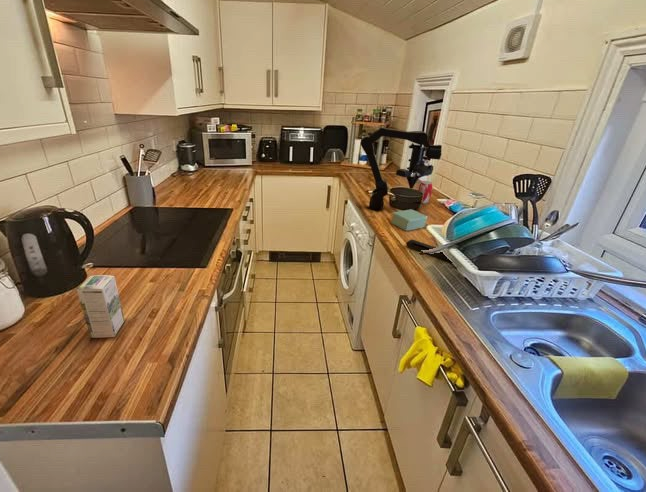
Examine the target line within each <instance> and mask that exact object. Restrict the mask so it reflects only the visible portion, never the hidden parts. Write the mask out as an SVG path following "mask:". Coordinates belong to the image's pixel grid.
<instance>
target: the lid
mask: <svg viewBox="0 0 646 492" xmlns="http://www.w3.org/2000/svg"><path fill="white" fill-rule="evenodd" d="M393 214H394V215H396V216H398V217H400V218H402V219H404V220H406V221H408V222H411V221H416V220H421V219H426V220H427V219H428V218H429V216H427V215H425V214H423V213H421V212H419V211H416V210H414V209H412V208H410V209H405V210H397V211H394V212H393V213H392V215H393Z"/></svg>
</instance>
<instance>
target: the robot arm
mask: <svg viewBox="0 0 646 492" xmlns="http://www.w3.org/2000/svg"><path fill="white" fill-rule="evenodd" d="M382 137H386V138H392V139H399V140H405V141H408V142H411V144H410V145H408V149H411V154H410V158H408V159H407V160H408V162H409V165H408V166H407V167H406V168H398V169H396V171H395V175H396V176H399V177H401V178H405V179H406V180H407V184H408V186H409V189H412V190H413V189H414V187H415V185H416V183H417V182H418V180H419V179H421V178H422V177H429V176H431V175H432V173H433V172H434V165H432V164H429V165H426V164H425V162H426V161H425V160H424V157H426V159H428V160H441V157H442V150H443V149H442V146H443V145H442V144H431V143H430V142H429V141H428V140H429V136H428V134H427V133H426V132H425V131H424V130H413V131H412V130H411V131H406V130H400V129H395V128H394V129H393V128H387V127H383V126H380V127H379V128H378V129H377V130H375V131H374V132H372V133H370V134H369V135H364V136H363V137H362V138H361V140H360V146H361V148H362V150H363V152H364V153H365V155H366V158H367V160H368V163H369V166H370V169H371V173H372V175H373V179H374V182H375V188H374V189H373V190H372V191H371V196H370V197H369V205H368V206H367V209H369V210H372V211H376V212H380V211H381V210H384V205H385V201H384V199H385V197H386V196H387V195H388V193H389V191H388V190H390V189H389V185H388V181H387V179H384V178H383V176H382V173H381V171H380V170H381V169H380V166H379V163H378V160H377V156H376V154H375V149H374V143H375V142H377V141H378V140H379V139H381V138H382ZM421 145H422V146H421Z"/></svg>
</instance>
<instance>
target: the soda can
mask: <svg viewBox="0 0 646 492" xmlns="http://www.w3.org/2000/svg"><path fill="white" fill-rule="evenodd" d="M433 188H434V186H433V181H429V180H422V181H421V182H420V183H419V186H418V191H421V192H422V193H423V199H422V202H421V203H420V204H424V205H425V204H429V203H430V200H431V197H432V192H433ZM418 191H417V192H418Z"/></svg>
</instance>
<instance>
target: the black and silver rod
mask: <svg viewBox="0 0 646 492" xmlns="http://www.w3.org/2000/svg"><path fill="white" fill-rule="evenodd" d="M406 247H407V248H408V249H411V250H414V251H417V252H420V251H421V250H429V249H433V248H436V247H437V246H433V245H431V244H427V243H425V242H421V241H419V240H416V239H409V240H408V241H407V242H406ZM428 255H430V256H432V257H435V258H437V259H441V260H444V261H446V262H449V263H452V262H451V261H450V260H449V259H447V257H446V256H445V255H444V254H443V252H440V253H434V254H428Z"/></svg>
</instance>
